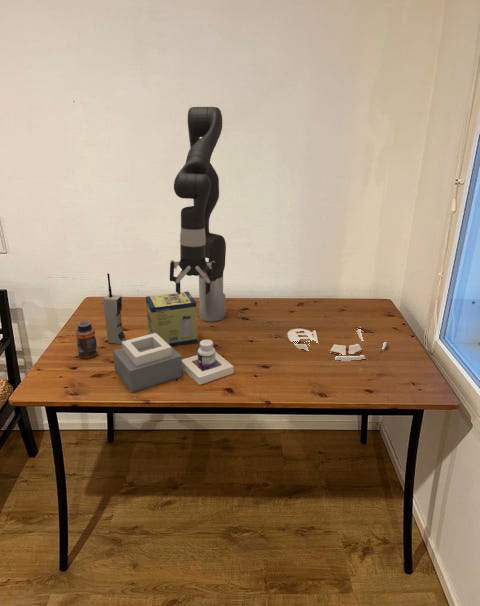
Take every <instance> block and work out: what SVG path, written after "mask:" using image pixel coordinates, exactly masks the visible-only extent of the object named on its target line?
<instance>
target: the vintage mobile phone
mask: <svg viewBox="0 0 480 606" xmlns="http://www.w3.org/2000/svg"><path fill="white" fill-rule="evenodd" d="M107 283H108V294H107V295H106V296H104V298H103V299H102V303H103V304H102V305H103V313H104V320H105V327H106V339H107V343H108V344H114V345H122V341H126V340H127V337H126V335H125V333H124V331H123V324H122V323H123V322H122V313H121V311H122V310H123V305H122V302H123V297H122V295H117V294H112V287H111V278H110V273H107Z"/></svg>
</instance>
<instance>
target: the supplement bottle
mask: <svg viewBox="0 0 480 606" xmlns="http://www.w3.org/2000/svg"><path fill="white" fill-rule="evenodd" d="M75 337H76V345H77V351H78V355H79V357H80V358H82V359H91V358H94V357H96V356H97V355H98V353H99V352H98V344H97V343H98V342H97V335H96V330H95V328H93V326H92V323H91V321H88V320H86V321H85V320H84V321H81V322H78V323H77V329H76V331H75Z"/></svg>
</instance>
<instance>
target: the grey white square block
mask: <svg viewBox="0 0 480 606" xmlns="http://www.w3.org/2000/svg"><path fill="white" fill-rule="evenodd" d="M121 345H122V346H121V348H118V349H114V350H112V353H113V354H112V355H113V356H112V357H113V363H114V371H115V373H117V375H118V376H119V377H120V380H122V381H123V383H124V384H125V386H126V387H127V388H128V389H129V391H130V392H131V393H135V392H137V391H141V390H143V389H148V388H150V387H153V386H156V385H160V384H163V383H166V382H168V381H172V380H175V379H178V378H181V377H183V369H182V357H183V356H182V355H181V354H180V353H179V352H178V351H177V350H176V349H174V347H171V346H170V345H169V344H168V343H167V342H166V341H165V340H164V339H163V338H162V337H160V336H159V335H158V334H157V333H153V334H149V333H148V334H146V335H143V336H139V337H138V336H137V337H135V338H130V339H125V340H124V341H122V344H121Z"/></svg>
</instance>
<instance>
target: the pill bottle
mask: <svg viewBox="0 0 480 606" xmlns="http://www.w3.org/2000/svg"><path fill="white" fill-rule="evenodd" d="M215 352H216V349H215V347H214V342H213V340H212V339H202V340H200V342H199V347H198V349H197V355H198V366H197V367H198V368H199V369H200V370H201V371H205V370H209V369H212V368H215V367H216V365H215Z"/></svg>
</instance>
